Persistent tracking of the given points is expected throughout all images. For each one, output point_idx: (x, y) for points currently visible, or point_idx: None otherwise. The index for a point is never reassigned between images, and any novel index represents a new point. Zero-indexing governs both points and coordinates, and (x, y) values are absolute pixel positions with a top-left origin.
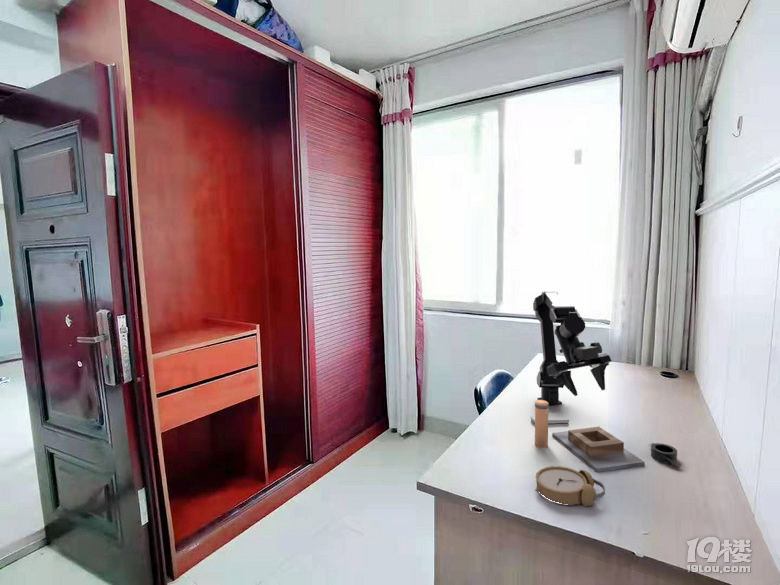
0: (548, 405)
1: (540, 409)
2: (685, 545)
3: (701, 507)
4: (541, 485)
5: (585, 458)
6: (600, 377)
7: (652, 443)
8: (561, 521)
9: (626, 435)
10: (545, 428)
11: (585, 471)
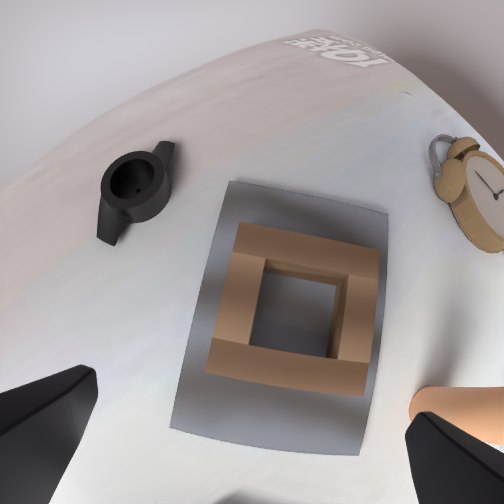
0: None
1: None
2: (372, 66)
3: (273, 77)
4: None
5: (383, 266)
6: (6, 447)
7: (101, 237)
8: None
9: (96, 337)
10: (471, 387)
11: (462, 167)
